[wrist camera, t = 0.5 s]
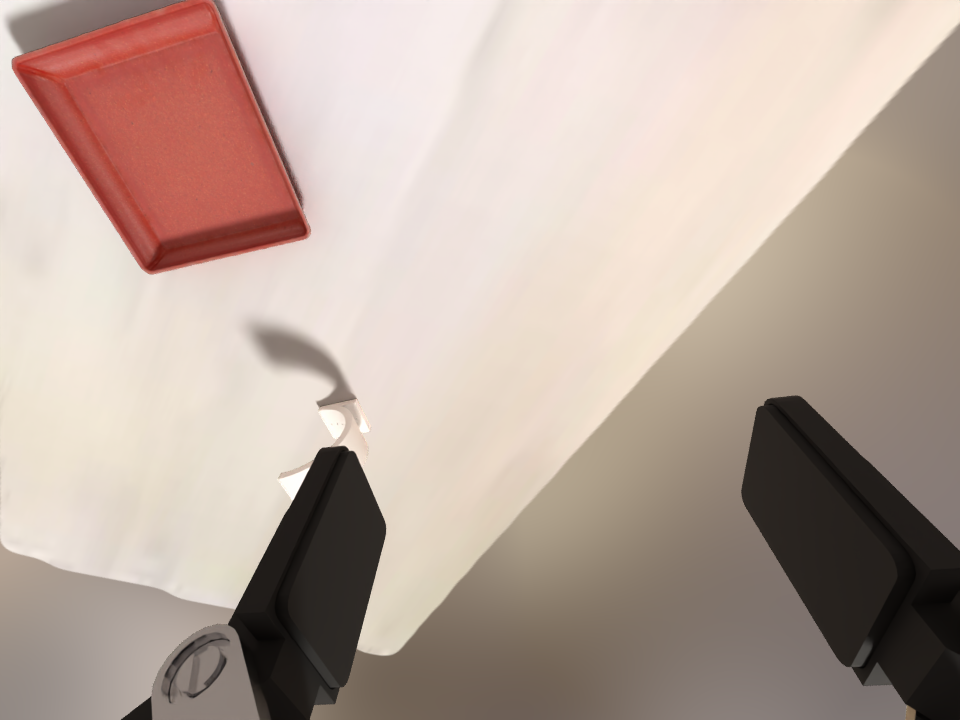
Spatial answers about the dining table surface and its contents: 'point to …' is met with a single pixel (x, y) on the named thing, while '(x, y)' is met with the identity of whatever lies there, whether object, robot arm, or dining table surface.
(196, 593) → the dining table surface
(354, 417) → the white curved piece
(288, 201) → the plant saucer
